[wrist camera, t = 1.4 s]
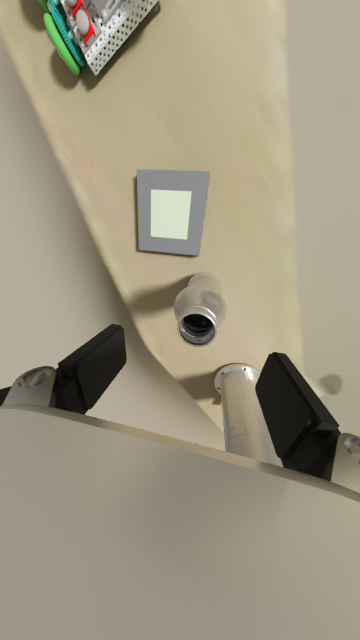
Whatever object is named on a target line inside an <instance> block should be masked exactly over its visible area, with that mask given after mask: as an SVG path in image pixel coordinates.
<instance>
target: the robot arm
mask: <svg viewBox="0 0 360 640" xmlns="http://www.w3.org/2000/svg"><path fill="white" fill-rule="evenodd" d="M125 363H126V348H125V337H124V329H123V328H122V327H121V326H120V325H115V324H111V325H110V326H109V327H107V328H106V329H104V330H103V331H102V332H100V333H99V334H98V335H96V336H95V337H93V338H92V339H91V340H89V341H88V342H87V343H85V344H84V345H83V346H81V347H80V348H78V349H77V350H76V351H74V352H73V353H72V354H70V355H69V356H68V357H66V358H65V359H63V360H62V361H61V362H59V363H58V366H59V367H58V368H57V369H55V368H54V367H50V366H42V367H38V368H34V369H32V370H29V371H27V372H25V373H24V374H22V375H21V376H19V377H18V378H17V379H16V380H15V382H14V383H13V385H12V386H11V387H7V388H3V389H0V640H360V437H358V436H356V435H353V434H350V433H341V432H340V431H339V430H338V427H339V424H338V423H337V422H336V421H335V419H334V418H333V416H332V415H331V414H330V412H329V411H328V410H327V408H326V407H325V406H324V404H323V403H322V402H321V400H320V399H319V398H318V396H317V395H316V394H315V392H314V391H313V390H312V388H311V387H310V386H309V384H308V383H307V382H306V380H305V379H304V378H303V376H302V375H301V374H300V372H299V371H298V370H297V368H296V367H295V366H294V364H293V363H292V362H291V360H290V359H289V358H288V356H287V355H286V354H283V353H277V352H273V353H272V354H269V356H268V358H267V360H266V362H265V365H264V367H263V369H262V371H261V373H260V372H259V371H258V370H257V369H255V368H254V367H252V366H249V365H246V364H231V365H227V366H225V367H223V368H221V369H220V370H219V371H218V372H217V373H216V375H215V379H214V385H215V388H216V390H217V392H218V393H219V394H220V395H221V400H222V413H223V425H224V438H225V450H226V452H225V451H221V450H217V449H213V448H210V447H206V446H202V445H198V444H195V443H191V442H187V441H183V440H179V439H176V438H172V437H168V436H164V435H160V434H157V433H153V432H149V431H145V430H141V429H137V428H134V427H130V426H126V425H122V424H118V423H114V422H110V421H106V420H102V419H98V418H95V417H90V416H87V415H84V414H85V413H86V412H87V411H88V409H91V408H92V407H93V406H94V405H95V403H96V402H97V401H98V399H99V398H100V397H101V395H102V394H103V393H104V391H105V390H106V389H107V388H108V386H109V385H110V383H111V382H112V381H113V379H114V378H115V377H116V375H117V374H118V373H119V372H120V370H121V369H122V367H123V366H124V365H125ZM74 412H75V413H74Z"/></svg>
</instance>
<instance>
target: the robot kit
mask: <svg viewBox="0 0 360 640" xmlns="http://www.w3.org/2000/svg"><path fill="white" fill-rule="evenodd" d="M37 1H38V2H39V4H40V5H41V6H42V8H43V9H44V10H45V11H46V12H48V13H50V12H51V14H52V16H53V17H52V16H51V15H50V14H48V13H45V14H44V17H43V19H44V24H45V27H46V30H47V32H48V34H49V36H50V38H51V40H52V42H53V44H54V46H55V47H56V50H57V52H58V54H59V55H60V57H61V58H62V59H63V60H64V62H65V63H66V65H67V66H68V67H69V69H70V70H71V71H72V72H73V73H74V74H75V75H79V73H80V67H79V64H80V65H81V66H82V67H83V66H84V61H83V59H82V56H81V54H80V52H79V49H78V47H77V45H78V46H79V45H80V47H81V49H82V52H83V54H84V56H85V58H86V61H87V63H88V65H89V66H90V68H91V69H92V71H93V73H94V74H95V76H96V75H97V74H99V71H100V70H101V69H102V68H103V67H104V65H105V64H106V63H107V62H108V61H109V59H110V58H111V57H112V56H113V55H114V53H115V52H116V50H118V49H119V47H120V46H121V45H122V44H123V42H124V41H125V40H126V39H127V38H128V36H129V35H130V34H131V33H132V32H133V30H134V29H135V28H136V27H137V26H138V24H139V22H141V21H142V20H143V18H144V17H145V16H146V15H147V14H148V12H149V11H150V10H151V9H152V8H153V6H154V5H155V4H156V3H157V2H158V0H144V2H143V1H142V0H126V1H125V0H37ZM124 1H125V2H124ZM129 1H130V2H131V3H130V4H128V3H129ZM151 1H152V3H151ZM59 2H60V3H62V5H63V8H64V10H65V12H66V15H67V19H66V20H67V24H68V26H69V28H70V29H71V30H70V31H69V30H68V28H67V27H66V25H65V20H64V18H63V16H62V14H61V11H60V10H59V7H58V3H59ZM133 3H134V4H135V7H133ZM150 3H151V5H150ZM138 4H139V8H138V9H137V5H138ZM93 5H94V6H95V8H94V7H93ZM120 6H121V7H120ZM119 7H120V8H119ZM146 8H147V9H146ZM145 9H146V11H145ZM89 11H90V12H89ZM133 11H134V14H133V15H132V12H133ZM115 13H116V14H115ZM136 13H137V15H136ZM97 14H98V16H99V17H97ZM114 14H115V15H114ZM119 14H120V15H121V16H120V17H118V16H119ZM140 15H142V16H141V17H140ZM102 17H103V18H102ZM128 17H129V20H128V21H127V18H128ZM53 18H54V19H53ZM110 19H111V20H110ZM93 20H94V21H95V22H94V23H93ZM135 21H137V22H136V23H135ZM101 23H102V24H103V25H102V27H101V25H100V24H101ZM123 23H124V27H122V24H123ZM105 25H106V27H105ZM131 26H132V28H131V29H130V27H131ZM109 29H110V30H109ZM118 29H119V33H117V31H118ZM126 32H127V34H126V35H125V33H126ZM109 35H110V38H109ZM113 36H115V38H114V39H113ZM73 38H74V39H73ZM101 38H102V40H101V42H100V39H101ZM121 38H122V40H121ZM74 40H75V41H74ZM109 41H110V44H108V42H109ZM75 42H76V43H75ZM113 42H114V43H113ZM117 43H118V45H117V46H116V44H117ZM76 44H77V45H76ZM96 44H97V47H96ZM104 47H106V49H105V50H104ZM112 49H114V50H113V51H112ZM100 52H101V53H102V54H101V55H100V54H99V53H100ZM108 54H109V56H108ZM96 57H97V60H95V58H96ZM104 59H105V61H104ZM92 62H93V63H92ZM100 64H101V66H100Z"/></svg>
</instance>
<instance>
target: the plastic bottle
mask: <svg viewBox="0 0 360 640" xmlns="http://www.w3.org/2000/svg"><path fill="white" fill-rule="evenodd" d="M174 313H175V317H176V320H177V322H178V324H177V331H178V334H179V336H180V338H181V339H182V340H183V341H184V342H185V343H187V344H189V345H191V346H195V347H202V346H206V345H208V344H210V343H211V342H212V341H213V340H214V339H215V337H216V334H217V329H218V328H219V327H220V326H221V325H222V323H223V321H224V320H225V317H226V313H227V307H226V303H225V300H224V298H223V296H222V295H221V285H220V282H219V280H218V279H217V278H216V277H215V276H214V275H212V274H209V273H199V274H196V275H195V276H193V277H192V278H191V279H190V281H189V283H188V287H186V288H184V289H183V290H182V291H181V292H180V293H179V294H178V296H177V297H176V300H175V303H174Z"/></svg>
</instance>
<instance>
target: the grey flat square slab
mask: <svg viewBox="0 0 360 640" xmlns="http://www.w3.org/2000/svg"><path fill="white" fill-rule="evenodd" d="M209 177H210V172H205V171H169V170H137V198H138V238H139V250H147V251H157V252H166V253H176V254H186V255H196V256H199V252H200V245H201V237H202V230H203V222H204V215H205V207H206V200H207V192H208V185H209Z"/></svg>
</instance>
